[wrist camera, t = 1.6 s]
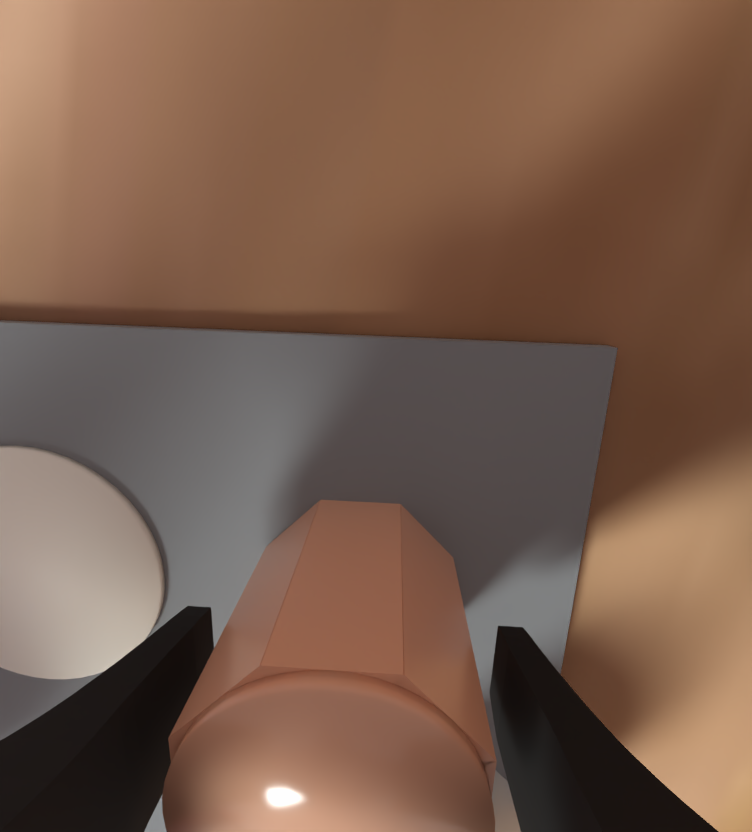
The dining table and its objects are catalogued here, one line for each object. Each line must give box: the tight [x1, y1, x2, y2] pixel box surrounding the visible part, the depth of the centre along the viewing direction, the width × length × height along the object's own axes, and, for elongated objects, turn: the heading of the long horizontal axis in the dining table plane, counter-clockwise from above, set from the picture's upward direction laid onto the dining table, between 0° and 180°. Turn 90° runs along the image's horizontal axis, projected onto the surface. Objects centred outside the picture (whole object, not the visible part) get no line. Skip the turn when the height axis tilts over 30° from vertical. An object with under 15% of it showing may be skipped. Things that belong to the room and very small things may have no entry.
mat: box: [0, 320, 618, 832], centre depth 15 cm, size 22×20×1 cm
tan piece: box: [162, 500, 497, 832], centre depth 11 cm, size 6×6×6 cm
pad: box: [0, 446, 165, 679], centre depth 14 cm, size 8×8×1 cm
